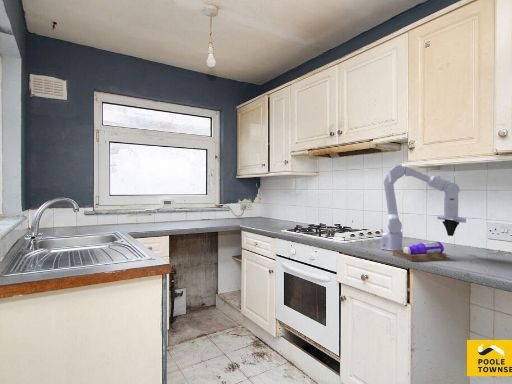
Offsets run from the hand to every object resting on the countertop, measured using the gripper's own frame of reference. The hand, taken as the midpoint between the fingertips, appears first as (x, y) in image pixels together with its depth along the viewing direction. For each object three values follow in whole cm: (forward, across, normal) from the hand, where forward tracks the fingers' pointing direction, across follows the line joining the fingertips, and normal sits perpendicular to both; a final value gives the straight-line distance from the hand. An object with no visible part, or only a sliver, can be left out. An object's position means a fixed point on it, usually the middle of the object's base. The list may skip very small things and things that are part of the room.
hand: (450, 235), depth 146 cm
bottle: (+5, -2, +8) cm, 10 cm away
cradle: (+9, 0, +18) cm, 21 cm away
